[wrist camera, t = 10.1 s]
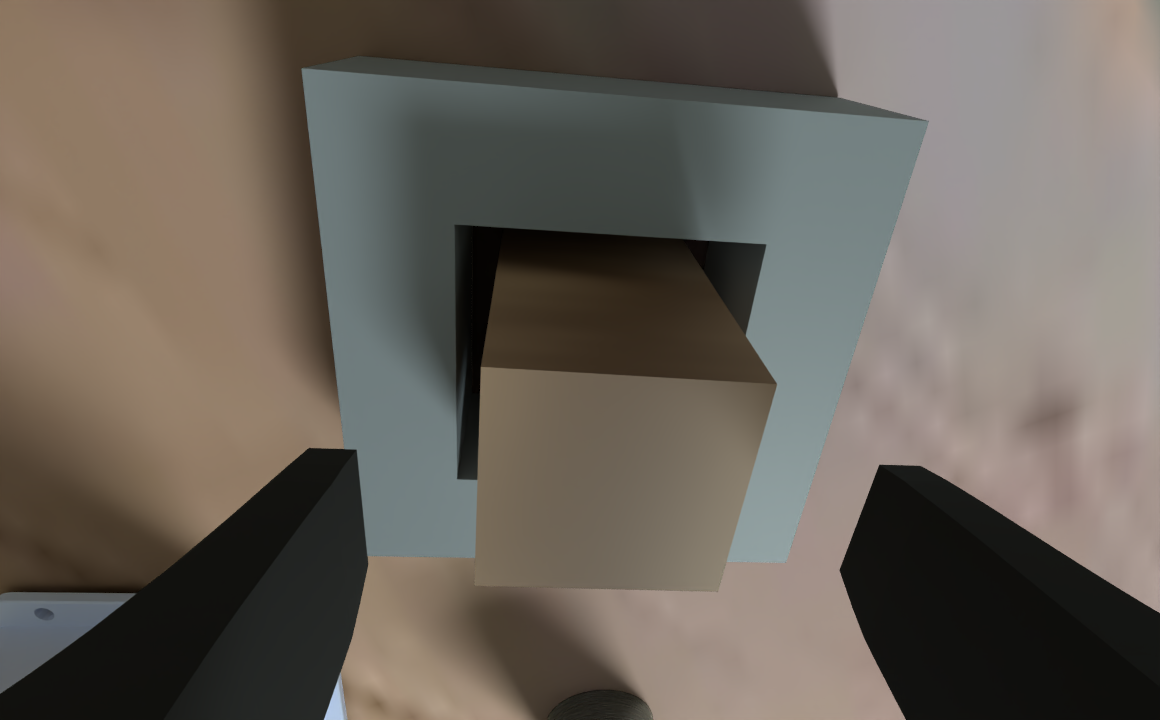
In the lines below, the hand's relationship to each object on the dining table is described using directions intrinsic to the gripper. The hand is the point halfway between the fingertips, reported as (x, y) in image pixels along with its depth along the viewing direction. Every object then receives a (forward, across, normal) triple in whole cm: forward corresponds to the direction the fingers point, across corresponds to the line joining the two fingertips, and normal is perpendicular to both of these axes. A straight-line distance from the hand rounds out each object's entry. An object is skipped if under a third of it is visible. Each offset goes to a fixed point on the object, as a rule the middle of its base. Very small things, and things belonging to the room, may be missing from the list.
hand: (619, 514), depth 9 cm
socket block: (+8, 0, 0) cm, 8 cm away
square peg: (+8, 0, 0) cm, 8 cm away
